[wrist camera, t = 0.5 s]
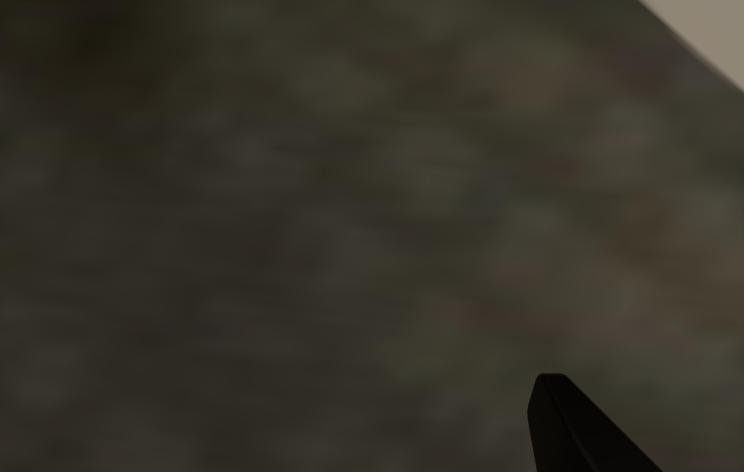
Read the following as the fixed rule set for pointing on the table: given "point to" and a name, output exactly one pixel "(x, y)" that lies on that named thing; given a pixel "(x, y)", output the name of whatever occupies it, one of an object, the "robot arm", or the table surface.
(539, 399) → the robot arm
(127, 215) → the table surface
